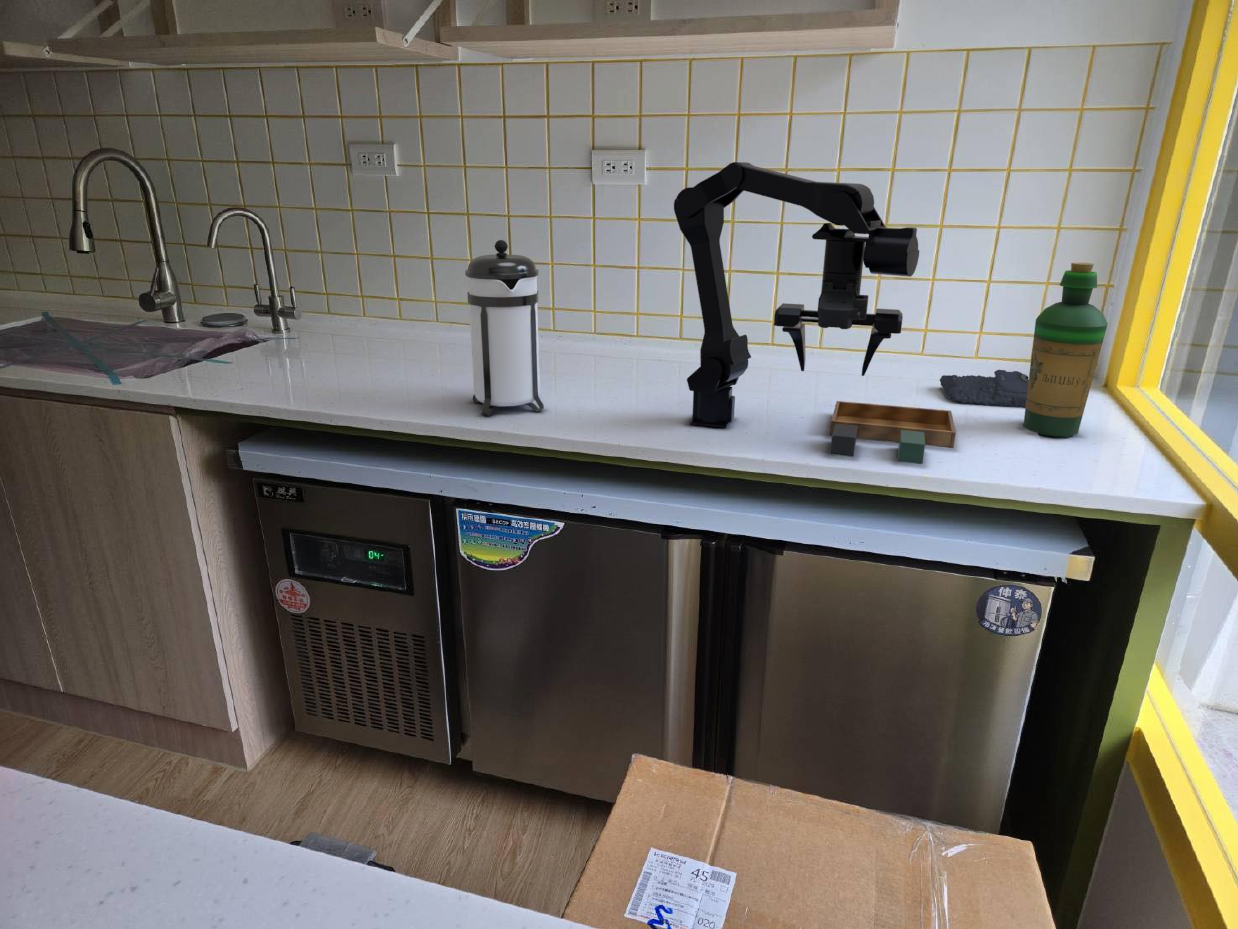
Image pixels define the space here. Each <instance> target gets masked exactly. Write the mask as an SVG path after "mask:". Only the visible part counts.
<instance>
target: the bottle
mask: <svg viewBox="0 0 1238 929" xmlns="http://www.w3.org/2000/svg"><path fill="white" fill-rule="evenodd" d="M1094 265H1095V264H1094V263H1090V262H1071V263H1070V269H1069V270H1065V271H1064V273H1063V276H1062V278H1061V280H1060V283H1059V287H1062V292H1061V301H1059V302H1054V303H1053V304H1051V305H1049V306H1047V307H1045V308H1044V309H1043V310H1042V311H1041V312H1040V313H1039V315H1038V316H1037V317H1036V319H1035V323H1034V324H1035V325H1034V332H1033V340H1032V349H1031V356H1030V357H1031V358H1030V365H1029V375H1028V377H1029V378H1028V379H1029V382H1028V390H1027V399H1026V407H1024V408H1025V409H1024V416H1023V424H1022V426H1023V427H1024V428H1025V429H1027V430H1028V431H1031V432H1034V433H1037V435H1040V436H1045V437H1051V438H1068V437H1072V436H1075V435H1078V434H1079V431H1080V428H1081V423H1082V419H1083V416H1084V412H1085V410H1086V409H1085V408H1086V405H1087V402H1088V398H1089V394H1090V390H1091V388H1092V384H1093V379H1094V376H1095V372H1096V368H1097V366H1098V361H1099V358H1100V353H1101V350H1102V347H1103V343H1104V339H1105V336H1106V333H1107V332H1106V331H1107V328H1108V324H1109V323H1108V320H1107V318H1106V316H1105V314H1104V313H1103V312H1102V311H1101V310H1100V309H1099V308H1098V307H1096V306H1095V305H1094V304H1090V299H1091V296H1092V293H1093V290H1094V289H1097V288H1098V272H1096V271H1092V270H1093V268H1094Z"/></svg>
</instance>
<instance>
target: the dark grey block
mask: <svg viewBox="0 0 1238 929" xmlns="http://www.w3.org/2000/svg"><path fill="white" fill-rule="evenodd" d="M857 428H858V426H853V425H843V424H835V427H834V430H833V434H832V436H831V442H830V452H829V455H835V456H845V457H855V450H856V444H857V438H856V437H857Z"/></svg>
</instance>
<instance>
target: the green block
mask: <svg viewBox="0 0 1238 929" xmlns="http://www.w3.org/2000/svg"><path fill="white" fill-rule="evenodd" d="M897 447H898V448H897V452H898V453H897V461H898V462H901V463H910V464H911V463H913V464H923V463H924V455H925V449H926V445H925V437H924V432H917V431H906V430H901V431H900V439H899V442H898V446H897Z"/></svg>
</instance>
